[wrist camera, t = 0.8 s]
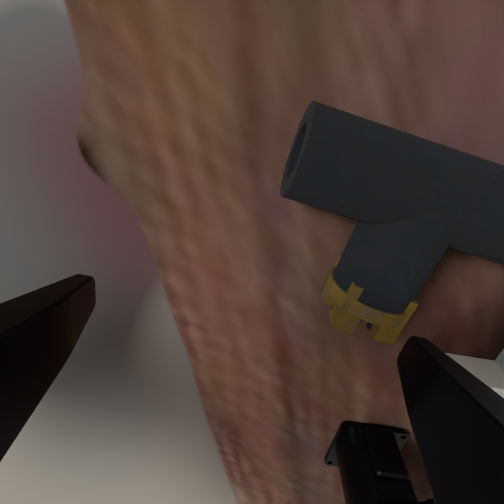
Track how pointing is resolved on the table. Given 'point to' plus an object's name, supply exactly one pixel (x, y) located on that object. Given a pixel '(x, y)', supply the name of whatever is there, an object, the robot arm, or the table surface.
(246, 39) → the table surface
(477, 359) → the bay
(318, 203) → the pipe connector
